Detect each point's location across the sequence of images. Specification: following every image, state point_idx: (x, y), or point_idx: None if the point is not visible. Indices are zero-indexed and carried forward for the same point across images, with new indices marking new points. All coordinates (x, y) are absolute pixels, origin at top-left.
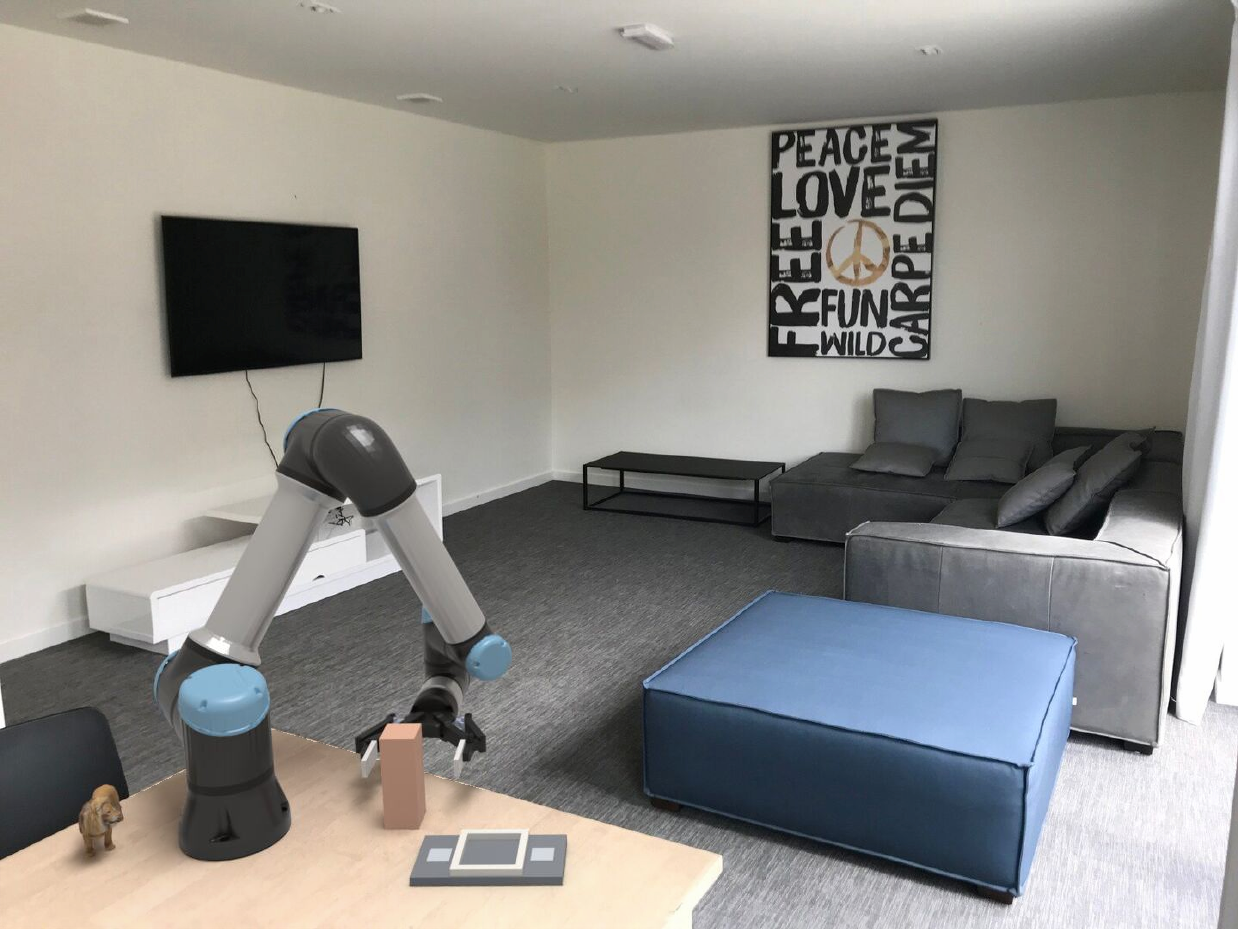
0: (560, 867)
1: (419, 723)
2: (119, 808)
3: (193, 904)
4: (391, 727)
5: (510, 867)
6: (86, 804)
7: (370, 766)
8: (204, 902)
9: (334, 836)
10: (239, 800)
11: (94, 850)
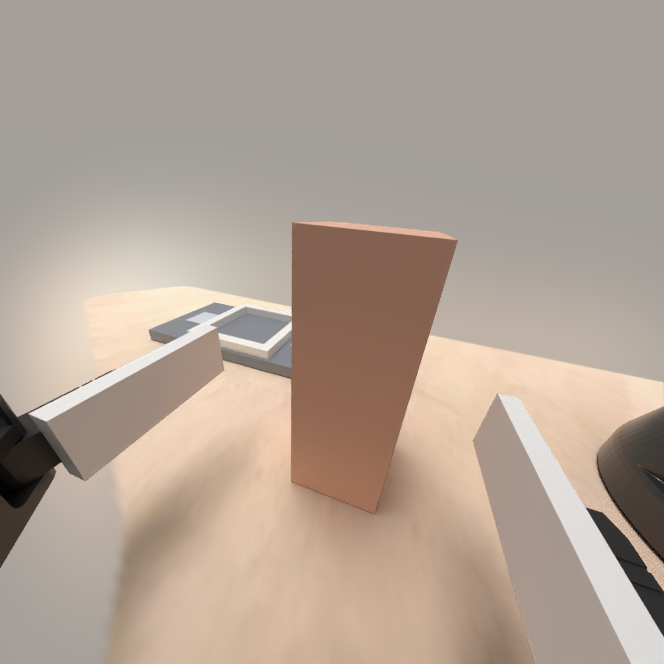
0: (206, 307)
1: (300, 222)
2: None
3: (576, 375)
4: (422, 233)
5: (251, 305)
6: None
7: (494, 478)
8: (565, 374)
9: None
10: None
11: None
